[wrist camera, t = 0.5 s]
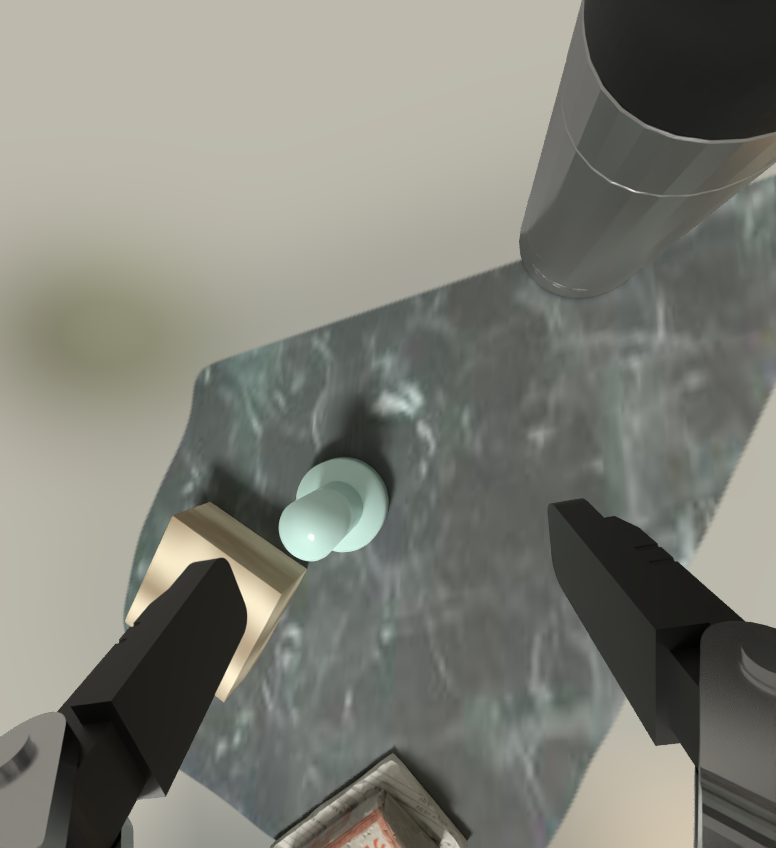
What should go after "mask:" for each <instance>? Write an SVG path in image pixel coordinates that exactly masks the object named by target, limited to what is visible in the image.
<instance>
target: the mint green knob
mask: <svg viewBox="0 0 776 848" xmlns="http://www.w3.org/2000/svg"><path fill="white" fill-rule="evenodd" d="M388 509H389V497H388V492H387V489H386V486H385V484H384V481H383V480H382V478H381V477H380V475H379V474H378V473H377V471H376V470H375V469H373V468H372V467H371V466H370V465H368V464H367V463H365V462H363V461H361V460H359V459H356V458H352V457H338V458H333V459H330V460H328V461H325V462H323V463H320V464H318V465H316V466H315V467H313V468H312V469H311V470H310V471H309V472H308V473H307V474H306V475H305V476H304V478H303V479H302V481H301V483H300V485H299V488H298V491H297V496H296V501H294V502H292V503H291V504H289V505H288V506H287V507H286V508H285V510H284V511H283V513H282V515H281V517H280V521H279V533H280V537H281V540H282V542H283V544H284V546H285V547H286V549H287V550H288V551H289V552H290V553H291V554H292V555H294V556H295V557H297V558H299V559H301V560H305V561H316V560H320V559H322V558H324V557H325V556H327V555H328V554H329V553H330V552H331V551H337V552H349V551H354V550H357V549H359V548H362V547H363V546H365V545H366V544H368V543H369V542H370V541H371V540H372V539H373V538H374V537H375V535H376V534H377V533H378V531H379V530H380V529H381V527H382V526H383V524H384V522H385V520H386V518H387V515H388Z"/></svg>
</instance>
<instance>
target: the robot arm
mask: <svg viewBox="0 0 776 848" xmlns="http://www.w3.org/2000/svg"><path fill="white" fill-rule="evenodd" d="M774 163H776V0H582V2H581V6H580V10H579V14H578V17H577V21H576V25H575V29H574V32H573V36H572V40H571V43H570V47H569V51H568V55H567V60H566V64H565V67H564V71H563V75H562V78H561V82H560V86H559V90H558V93H557V97H556V101H555V105H554V109H553V112H552V116H551V119H550V123H549V127H548V130H547V134H546V138H545V142H544V145H543V149H542V153H541V156H540V160H539V164H538V168H537V171H536V175H535V179H534V182H533V186H532V190H531V194H530V197H529V200H528V204H527V208H526V211H525V215H524V219H523V223H522V227H521V231H520V239H519V245H520V255H521V258H522V261H523V264H524V267H525V268H526V270H527V272H528V273H529V275H530V277H531V278H532V279H533V280H534V281H535V282H536V283H537V284H538V285H539V286H541V287H542V288H544V289H546V290H547V291H549V292H551V293H554V294H557V295H559V296H562V297H570V298H587V297H593V296H597V295H601V294H604V293H606V292H608V291H610V290H612V289H615V288H617V287H618V286H620V285H621V284H622V283H624V282H625V281H626V280H628V279H629V278H630V277H632V276H633V275H634V274H636V273H637V272H638V271H639V270H641V269H642V268H643V267H644V266H646V265H647V264H649V263H650V262H651V261H652V260H654V259H655V258H656V257H657V256H659V255H660V254H661V253H662V252H664V251H665V250H666V249H667V248H669V247H670V246H671V245H672V244H674V243H675V242H676V241H677V240H679V239H680V238H681V237H683V236H684V235H685V234H686V233H688V232H689V231H690V230H691V229H693V228H694V227H695V226H696V225H698V224H699V223H700V222H701V221H703V220H704V219H705V218H706V217H708V216H709V215H710V214H711V213H713V212H714V211H715V210H716V209H718V208H719V207H720V206H722V205H723V204H724V203H725V202H727V201H728V200H729V199H730V198H732V197H733V196H734V195H735V194H737V193H738V192H739V191H740V190H742V189H743V188H744V187H745V186H747V185H748V184H749V183H750V182H752V181H753V180H754V179H755V178H757V177H758V176H759V175H761V174H762V173H763V172H764V171H765V170H767V169H768V168H769V167H771V166H772V165H773V164H774ZM548 522H549V533H550V543H551V554H552V562H553V567H554V571H555V574H556V577H557V580H558V582H559V584H560V586H561V588H562V590H563V592H564V593H565V595H566V597H567V598H568V600H569V602H570V603H571V605H572V607H573V608H574V610H575V612H576V613H577V615H578V617H579V618H580V620H581V622H582V623H583V625H584V627H585V628H586V630H587V632H588V633H589V635H590V637H591V639H592V640H593V642H594V644H595V645H596V647H597V649H598V650H599V652H600V654H601V655H602V657H603V659H604V660H605V662H606V664H607V665H608V667H609V669H610V670H611V672H612V674H613V675H614V677H615V679H616V680H617V682H618V684H619V685H620V687H621V689H622V690H623V692H624V694H625V695H626V697H627V699H628V700H629V702H630V704H631V706H632V707H633V708H634V711H635V712H636V714H637V716H638V717H639V719H640V721H641V722H642V724H643V726H644V727H645V729H646V731H647V732H648V734H649V735H650V737H651V739H652V741H653V742H654V744H655V745H656V746H658V745H667V744H676V743H681V745H682V746H683V748H684V749H685V751H686V752H687V754H688V756H689V757H690V759H691V760H692V762H693V763H694V765H695V776H694V777H695V779H694V848H776V628H772V627H769V626H766V625H762V624H757V623H753V622H745V621H744V620H743V619H742V618H741V617H740V616H738V615H737V614H736V613H735V612H734V611H733V610H732V609H731V608H730V607H728V606H727V605H726V604H725V603H724V602H723V601H722V600H720V599H719V598H718V597H717V596H716V595H715V594H714V593H713V592H711V591H710V590H709V589H708V588H707V587H706V586H705V585H703V584H702V583H701V582H700V581H699V580H698V579H697V578H695V577H694V576H693V575H692V574H691V573H690V572H689V571H688V570H687V569H685V568H684V567H683V566H682V565H681V564H680V563H679V562H675V561H674V559H673V557H672V556H671V555H670V554H668V553H667V552H666V551H665V550H664V549H663V548H662V547H658V545H657V543H656V542H655V541H654V540H653V539H651V538H650V537H649V536H648V535H647V534H646V533H645V532H644V531H642V530H641V529H640V528H639V527H637V526H635V525H632V524H630V523H628V522H626V521H624V520H622V519H620V518H618V517H616V516H612V517H606V518H604V517H603V516H602V515H601V514H600V513H599V512H598V511H597V510H596V509H595V508H594V507H593V506H592V505H591V504H590V503H589V502H588V501H586V500H585V499H583V498H581V499H575V500H569V501H563V502H557V503H551V504H549V505H548ZM246 626H247V608H246V604H245V602H244V599H243V597H242V594H241V591H240V589H239V586H238V584H237V581H236V579H235V576H234V573H233V571H232V568H231V566H230V564H229V562H228V561H227V560H226V559H225V558H216V559H210V560H204V561H198V562H193V563H191V564H189V565H188V566H187V567H186V569H185V570H184V571H183V572H182V573H181V575H180V576H179V577H178V578H177V579H176V581H175V582H174V583H173V584H172V585H171V587H170V588H169V589H168V590H166V591H165V592H164V593H163V594H161V595H160V596H159V597H158V598H156V599H155V600H154V601H153V602H151V603H150V604H149V605H148V607H147V608H146V609H145V610H144V611H143V612H142V613H141V615H140V616H139V617H138V618H137V619H136V620H135V622H134V623H133V627H129V629H128V630H127V631H126V632H125V633H124V634H123V636H122V637H121V638H120V639H119V643H118V644H115V645H114V646H113V647H112V648H111V650H110V651H109V652H108V653H107V654H106V655H105V657H104V658H103V659H102V660H101V661H100V662H99V664H98V665H97V666H96V667H95V668H94V670H93V671H92V672H91V673H90V674H89V675H88V676H87V678H86V679H85V680H84V681H83V682H82V684H81V685H80V686H79V687H78V688H77V689H76V690H75V692H74V693H73V694H72V695H71V696H70V698H69V699H68V700H67V701H66V702H65V703H64V704H63V706H62V707H61V708H60V709H59V710H58V711H57V712H49V713H44V714H41V715H38V716H36V717H33V718H31V719H29V720H27V721H25V722H23V723H21V724H19V725H18V726H16V727H14V728H13V729H11V730H10V731H8V732H7V733H5V734H4V735H2V736H1V737H0V848H133V826H132V824H131V822H130V820H129V818H128V815H129V814H130V812H131V810H132V808H133V806H134V804H135V802H136V801H137V800H139V799H148V798H158V797H166V795H167V793H168V791H169V789H170V787H171V785H172V782H173V781H174V779H175V777H176V774H177V772H178V770H179V768H180V766H181V764H182V762H183V760H184V758H185V756H186V754H187V752H188V750H189V747H190V745H191V743H192V741H193V739H194V737H195V735H196V733H197V731H198V729H199V727H200V725H201V723H202V720H203V718H204V716H205V714H206V712H207V710H208V708H209V706H210V704H211V702H212V700H213V698H214V696H215V693H216V691H217V689H218V687H219V685H220V683H221V681H222V679H223V677H224V675H225V673H226V671H227V669H228V666H229V664H230V662H231V660H232V658H233V656H234V654H235V652H236V650H237V648H238V646H239V644H240V642H241V639H242V637H243V635H244V633H245V630H246Z"/></svg>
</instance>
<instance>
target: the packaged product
mask: <svg viewBox="0 0 776 848" xmlns="http://www.w3.org/2000/svg"><path fill="white" fill-rule="evenodd" d="M270 848H468V847H467V841H466V839H465V838H464V836H463V835H462V834H461V833H460V831H459V830H458V829H457V828H456V827H455V825H454V824H453V823H452V822H451V821H450V819H449V818H448V817H447V816H446V815H445V813H444V812H443V811H442V810H441V809H440V807H439V806H438V805H437V804H436V802H435V801H434V800H433V799H432V797H431V796H430V795H429V794H428V793H427V791H426V790H425V789H424V788H423V787H422V786H421V784H420V783H419V782H418V781H417V780H416V778H415V777H414V776H413V775H412V774H411V772H410V771H409V770H408V769H407V767H406V766H405V765H404V764H403V763H402V762H401V761H400V760H399V759H398V758H397V757H396V755H395V754H394V753H392V754H390V755H389V756H388V757H386V758H385V759H383V760H382V761H380V762H379V763H378V764H377V765H375V766H374V767H373V768H372V769H370V770H369V771H368V772H367V773H365V774H364V775H363V776H362V777H360V778H359V779H358V780H357V781H355V782H354V783H352V784H351V785H349V786H348V787H347V788H345V789H344V790H342V791H341V792H339V793H338V794H337V795H335V796H334V797H333V798H331V799H330V800H328V801H326V802H325V803H323V804H321V805H320V806H319V807H318V808H316V809H315V810H314V811H313V812H312V813H311V814H310V815H309V816H308V817H307V818H306V819H304V820H303V821H301V822H300V823H298V824H297V825H296V826H294V827H293V828H292V829H290V830H289V831H288V832H286V833H285V834H284V835H283V836H281V837H280V838H279V839H278V840H277V841H275V842H274V843H273V844H272V845H271V847H270Z"/></svg>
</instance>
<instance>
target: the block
mask: <svg viewBox="0 0 776 848" xmlns="http://www.w3.org/2000/svg"><path fill="white" fill-rule="evenodd" d="M216 558H225V559H226V560H227V561H228V562H229V564H230V566H231V568H232V571H233V573H234V576H235V579H236V581H237V584H238V586H239V589H240V591H241V594H242V597H243V599H244V602H245V604H246V608H247V626H246V630H245V633H244V635H243V637H242V639H241V642H240V644H239V646H238V648H237V650H236V652H235V654H234V656H233V658H232V660H231V662H230V664H229V666H228V669H227V671H226V673H225V675H224V677H223V679H222V681H221V683H220V685H219V687H218V689H217V691H216V693H215V695H216V696H217V697H218V698H219V699H221V700H222V701H223V702H224V701H225V700H226V699H227V698H228V697H229V695H230V694H231V693H232V692H233V691H234V689H235V688H236V687H237V686H238V685H239V684H240V682H241V681H242V680H243V679H244V678H245V676H246V675H247V674H248V673H249V672H250V670H251V669H252V668H253V667H254V666H255V664H256V662H257V660H258V659H259V657H260V655H261V653H262V651H263V649H264V648H265V646H266V644H267V642H268V640H269V638H270V637H271V635H272V633H273V631H274V629H275V627H276V625H277V624H278V622H279V620H280V618H281V616H282V614H283V613H284V611H285V609H286V607H287V605H288V603H289V602H290V600H291V598H292V596H293V594H294V592H295V590H296V589H297V587H298V585H299V583H300V581H301V579H302V578H303V576H304V574H305V572H306V570H307V569H306V568H305V567H303V566H302V565H300V564H299V563H298V562H296V561H295V560H293V559H292V558H290V557H289V556H288V555H286V554H285V553H283V552H282V551H280V550H279V549H277V548H276V547H275V546H273V545H272V544H270V543H269V542H267V541H266V540H264V539H263V538H262V537H260V536H259V535H257V534H256V533H254V532H253V531H252V530H250V529H249V528H247V527H246V526H244V525H243V524H241V523H240V522H239V521H237V520H236V519H234V518H233V517H231V516H230V515H228V514H227V513H226V512H224V511H223V510H221V509H220V508H218V507H217V506H216V505H214V504H213V503H211V502H208V503H205V504H203V505H200V506H197V507H195V508H192V509H189V510H187V511H184V512H181V513H179V514H176V515H173V516H172V518H171V521H170V523H169V525H168V527H167V529H166V532H165V534H164V536H163V538H162V541H161V543H160V545H159V547H158V549H157V552H156V554H155V556H154V558H153V560H152V563H151V565H150V567H149V569H148V571H147V574H146V576H145V578H144V580H143V582H142V585H141V587H140V589H139V591H138V594H137V596H136V598H135V600H134V602H133V605H132V607H131V609H130V611H129V613H128V616H127V618H126V620H125V622H126V623H127V624H128V625H130V626H131V627H133V623H134V622H135V620H136V619H137V618H138V617H139V616H140V615H141V613H142V612H143V611H144V610H145V609H146V608H147V607H148V605H149V604H150V603H151V602H153V601H154V600H155V599H156V598H158V597H159V596H160V595H161V594H163V593H164V592H165V591H166V590H168V589H169V588H170V587H171V585H172V584H173V583H174V582H175V581H176V579H177V578H178V577H179V576H180V575H181V573H182V572H183V571H184V570H185V569H186V567H187V566H188V565H189V564H191V563H193V562H198V561H204V560H210V559H216Z"/></svg>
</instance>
